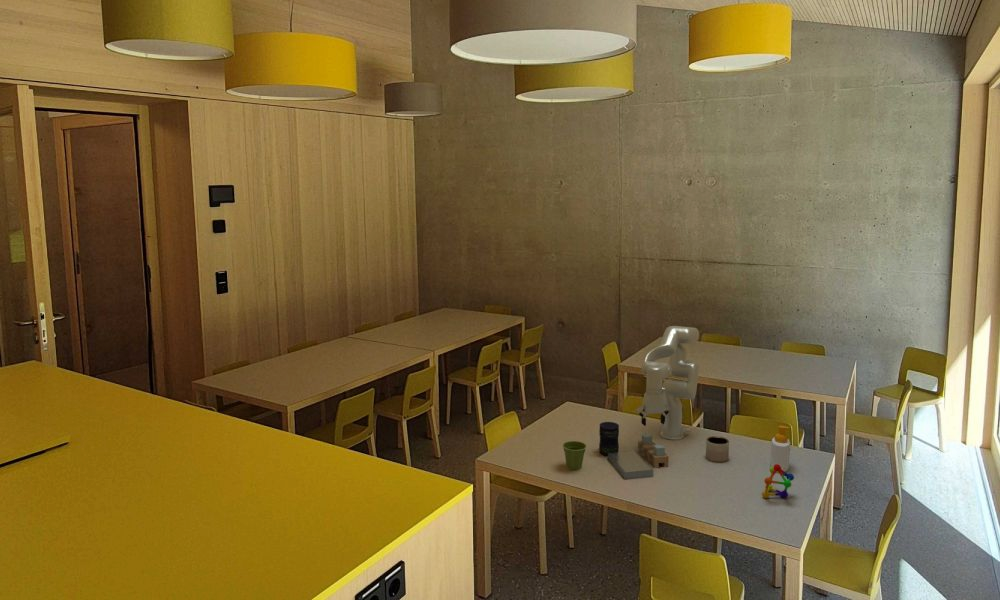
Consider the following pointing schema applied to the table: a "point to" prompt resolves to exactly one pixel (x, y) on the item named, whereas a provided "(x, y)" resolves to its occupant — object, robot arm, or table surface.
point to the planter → (717, 449)
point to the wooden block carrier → (652, 455)
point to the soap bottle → (780, 449)
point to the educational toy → (777, 482)
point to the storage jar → (608, 438)
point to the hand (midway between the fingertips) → (653, 424)
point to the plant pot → (574, 454)
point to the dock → (630, 465)
